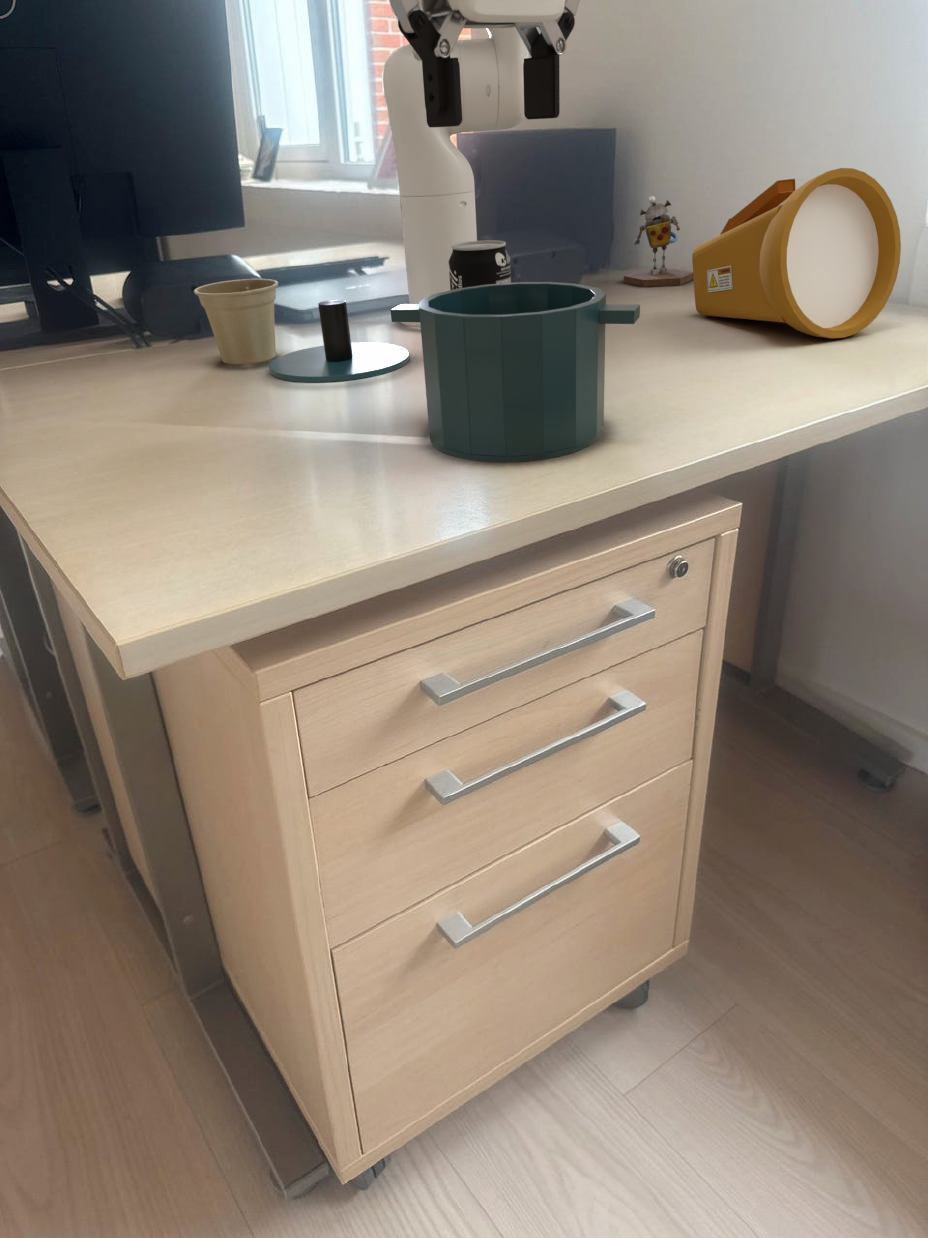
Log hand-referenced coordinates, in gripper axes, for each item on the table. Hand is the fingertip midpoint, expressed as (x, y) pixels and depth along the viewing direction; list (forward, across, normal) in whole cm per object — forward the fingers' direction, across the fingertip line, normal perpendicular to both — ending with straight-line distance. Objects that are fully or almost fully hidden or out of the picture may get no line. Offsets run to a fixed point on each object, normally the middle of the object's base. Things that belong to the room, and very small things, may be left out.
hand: (495, 122), depth 64 cm
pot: (+23, 0, -2) cm, 23 cm away
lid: (+23, +3, +30) cm, 38 cm away
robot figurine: (+24, +66, +35) cm, 79 cm away
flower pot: (+24, -2, +43) cm, 49 cm away
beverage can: (+24, +16, +20) cm, 35 cm away
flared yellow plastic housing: (+24, +48, +4) cm, 54 cm away
